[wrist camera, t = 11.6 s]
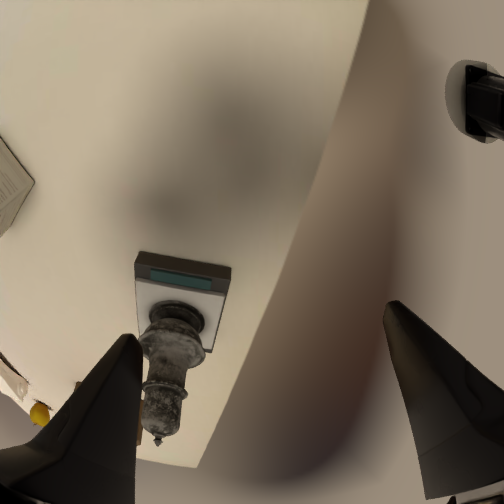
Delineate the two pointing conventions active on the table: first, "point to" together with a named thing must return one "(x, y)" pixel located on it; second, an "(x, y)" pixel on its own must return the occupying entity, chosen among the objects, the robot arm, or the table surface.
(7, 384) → the wall bracket
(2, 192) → the white packaging box
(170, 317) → the pepper mill
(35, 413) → the apple
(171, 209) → the table surface
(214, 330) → the kitchen scale
